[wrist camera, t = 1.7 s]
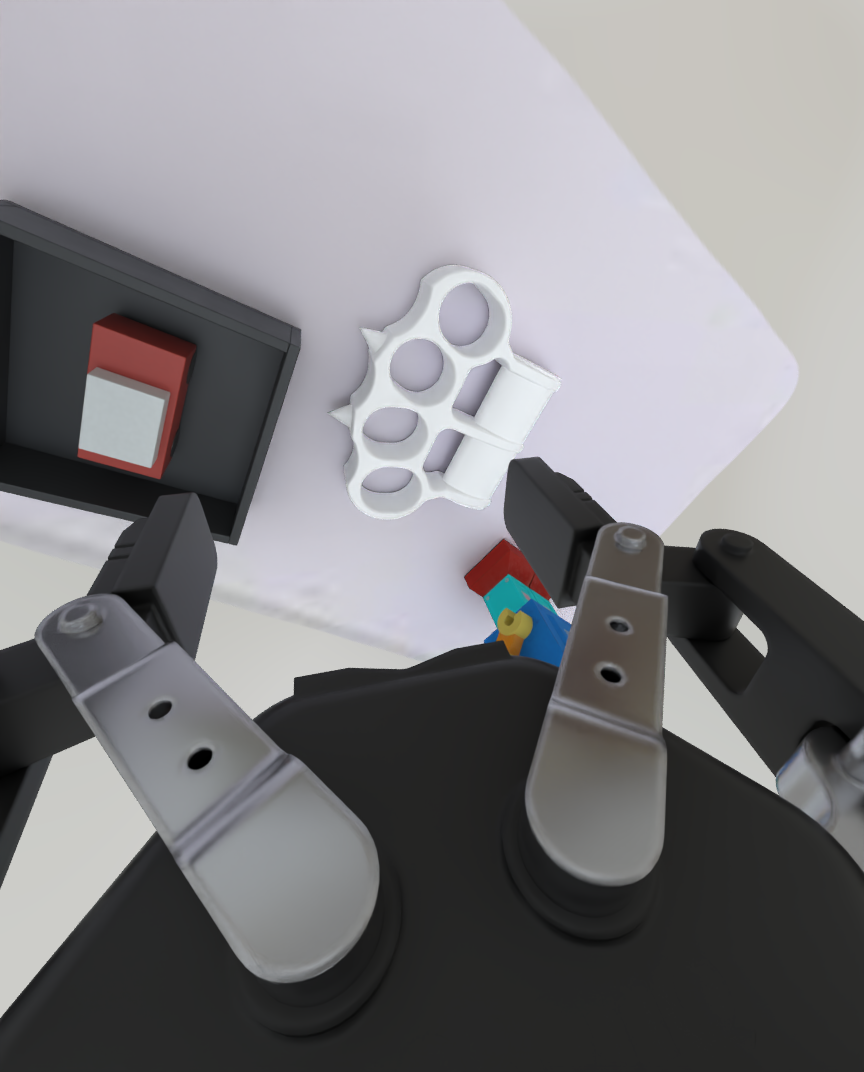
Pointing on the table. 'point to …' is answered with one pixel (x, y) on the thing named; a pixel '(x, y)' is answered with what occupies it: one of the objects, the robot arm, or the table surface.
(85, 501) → the storage box
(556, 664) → the toy robot
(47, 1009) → the robot arm
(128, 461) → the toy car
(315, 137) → the table surface
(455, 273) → the knuckle duster
